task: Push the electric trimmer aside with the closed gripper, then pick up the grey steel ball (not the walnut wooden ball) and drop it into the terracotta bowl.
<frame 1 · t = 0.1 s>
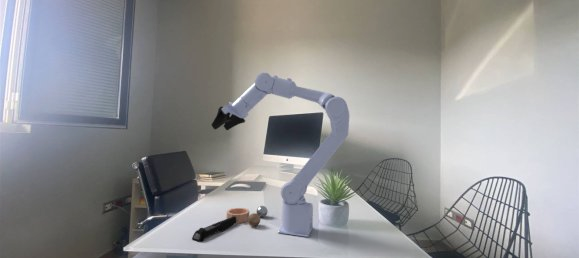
hand: (219, 127, 81), 32 cm above the table, tool tilted 50°, fingers open, 7 cm apart
electric trimmer: (215, 233, 70), on the table
wooden ball: (254, 219, 75), point 2 cm above the table
steel ball: (262, 211, 84), point 2 cm above the table
terracotta bowl: (237, 219, 81), on the table
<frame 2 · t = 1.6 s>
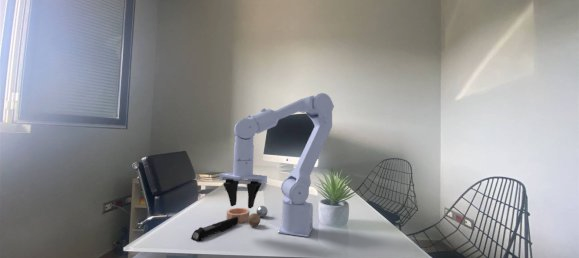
hand: (241, 206, 68), 8 cm above the table, tool pointing down, fingers open, 5 cm apart
nothing on the table moved.
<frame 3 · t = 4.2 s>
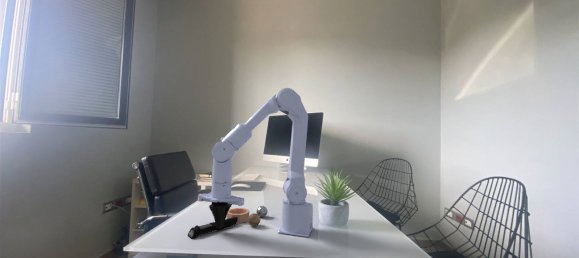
hand: (219, 227, 69), 1 cm above the table, tool pointing down, fingers closed
electric trimmer: (213, 232, 71), on the table, touching gripper
everything else where it was.
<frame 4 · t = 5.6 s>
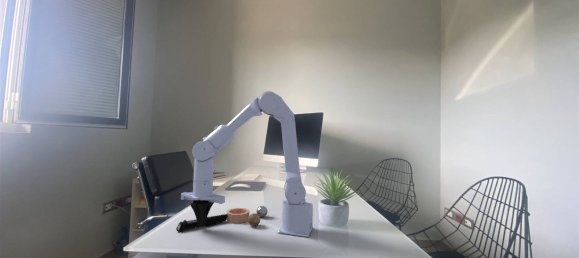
hand: (201, 224, 71), 1 cm above the table, tool pointing down, fingers closed
electric trimmer: (202, 227, 74), on the table
everything else where it was.
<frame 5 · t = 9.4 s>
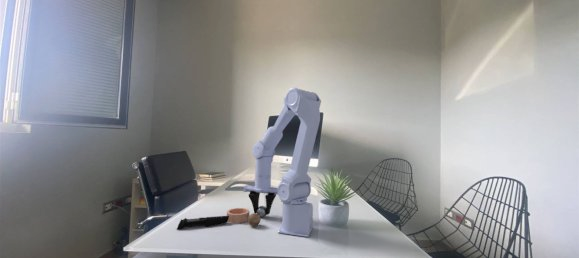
hand: (262, 213, 84), 1 cm above the table, tool pointing down, fingers closed on steel ball, 4 cm apart
steel ball: (262, 211, 84), point 2 cm above the table, touching gripper
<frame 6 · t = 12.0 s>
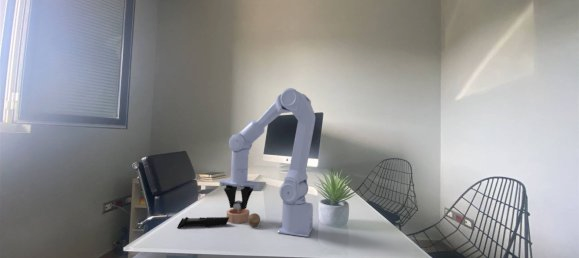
hand: (238, 207, 81), 4 cm above the table, tool pointing down, fingers closed on steel ball, 4 cm apart
steel ball: (238, 206, 81), point 4 cm above the table, touching gripper
when the fingers open (4 cm above the table, at t = 12.4 s): steel ball drops 2 cm, resting on terracotta bowl.
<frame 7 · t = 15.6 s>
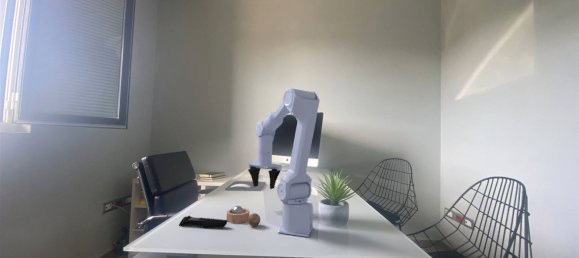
hand: (263, 187, 91), 9 cm above the table, tool pointing down, fingers open, 7 cm apart
steel ball: (237, 211, 81), point 2 cm above the table, tilted 6°, touching terracotta bowl
at the end: steel ball 0.4 cm off-centre on the terracotta bowl, point 2.5 cm above the terracotta bowl's base; electric trimmer moved 7.0 cm from its start; wooden ball moved 0.0 cm from its start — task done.
